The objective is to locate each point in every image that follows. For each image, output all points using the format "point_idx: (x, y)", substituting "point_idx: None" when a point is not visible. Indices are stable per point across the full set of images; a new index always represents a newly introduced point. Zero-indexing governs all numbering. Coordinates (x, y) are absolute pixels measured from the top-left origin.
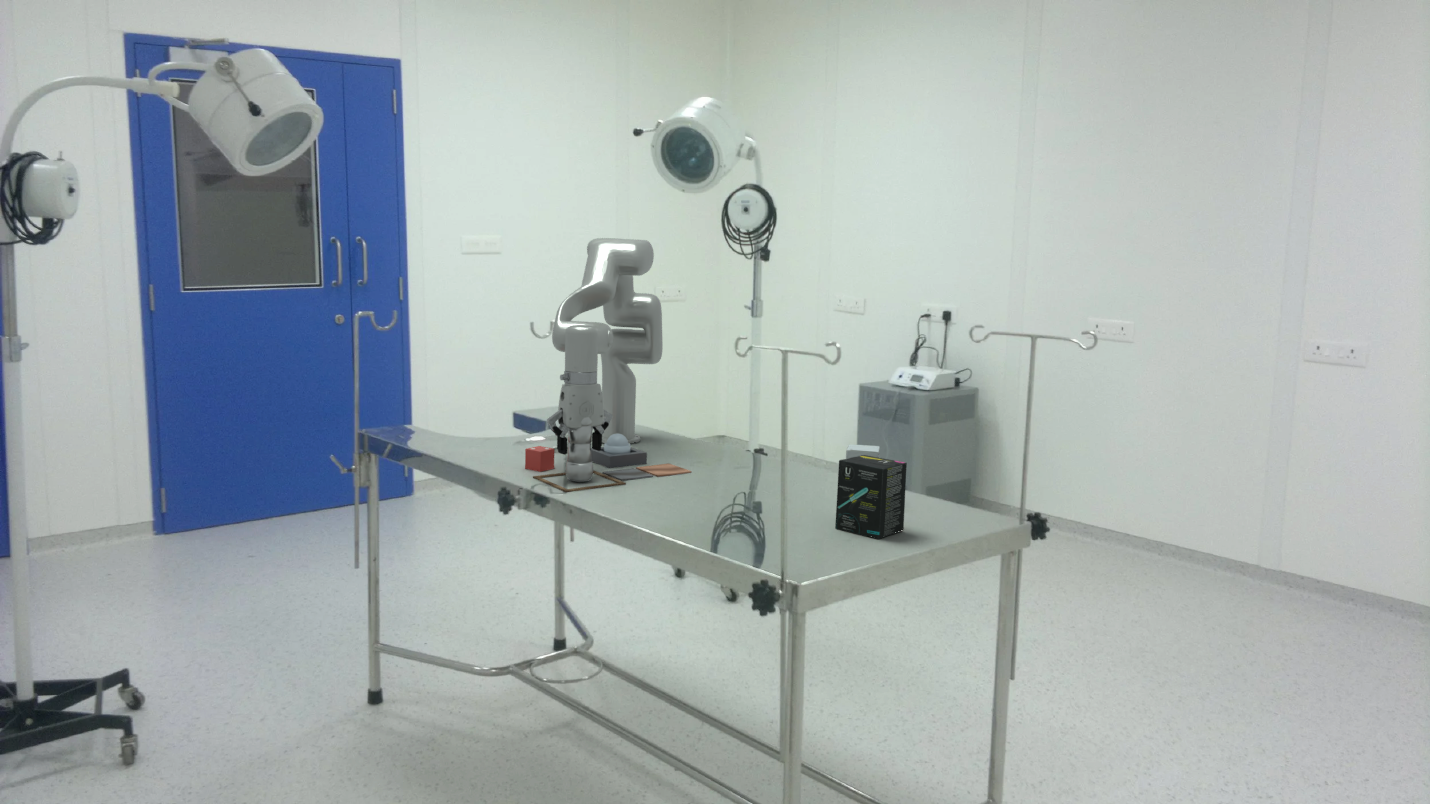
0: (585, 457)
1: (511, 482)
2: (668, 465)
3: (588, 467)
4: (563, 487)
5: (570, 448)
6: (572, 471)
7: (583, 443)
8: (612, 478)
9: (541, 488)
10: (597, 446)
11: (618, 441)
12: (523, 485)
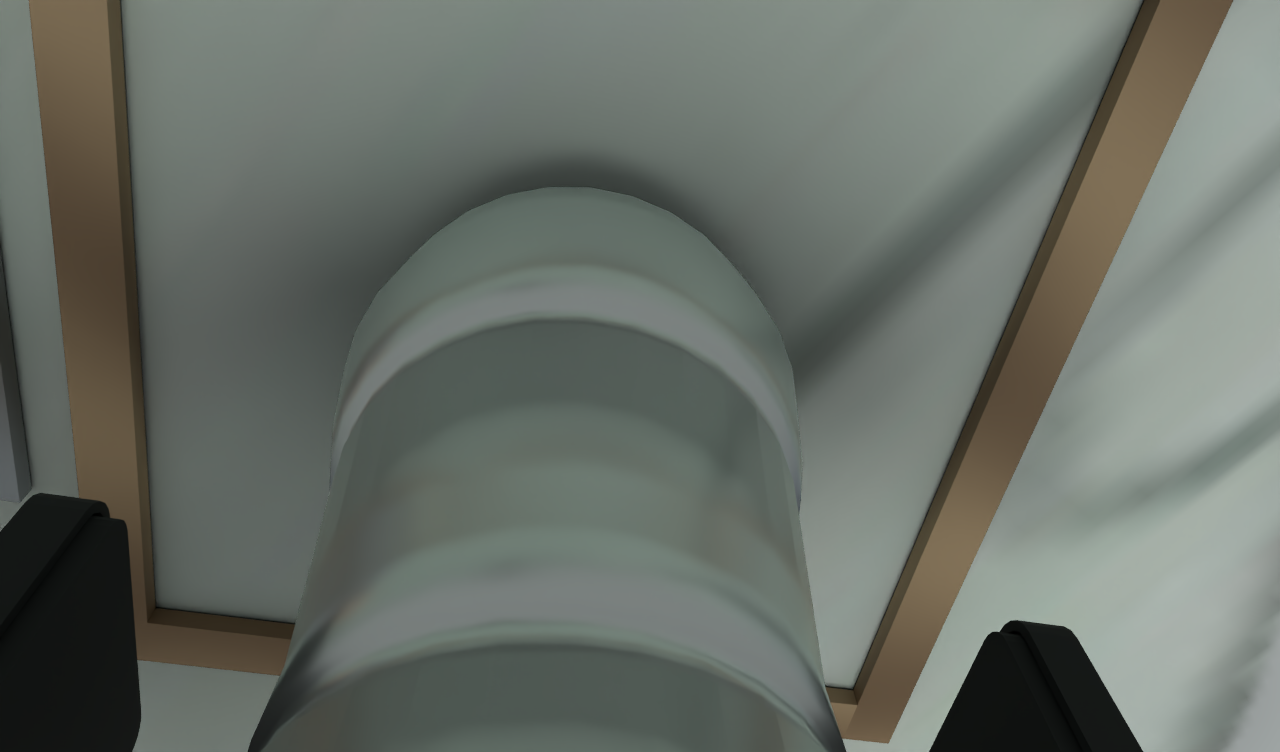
0: (609, 394)
1: (1188, 703)
2: None
3: (557, 256)
4: (1112, 120)
5: None
6: (791, 373)
7: (681, 673)
8: (77, 103)
9: (1235, 337)
10: (77, 609)
11: None
12: (1229, 557)
